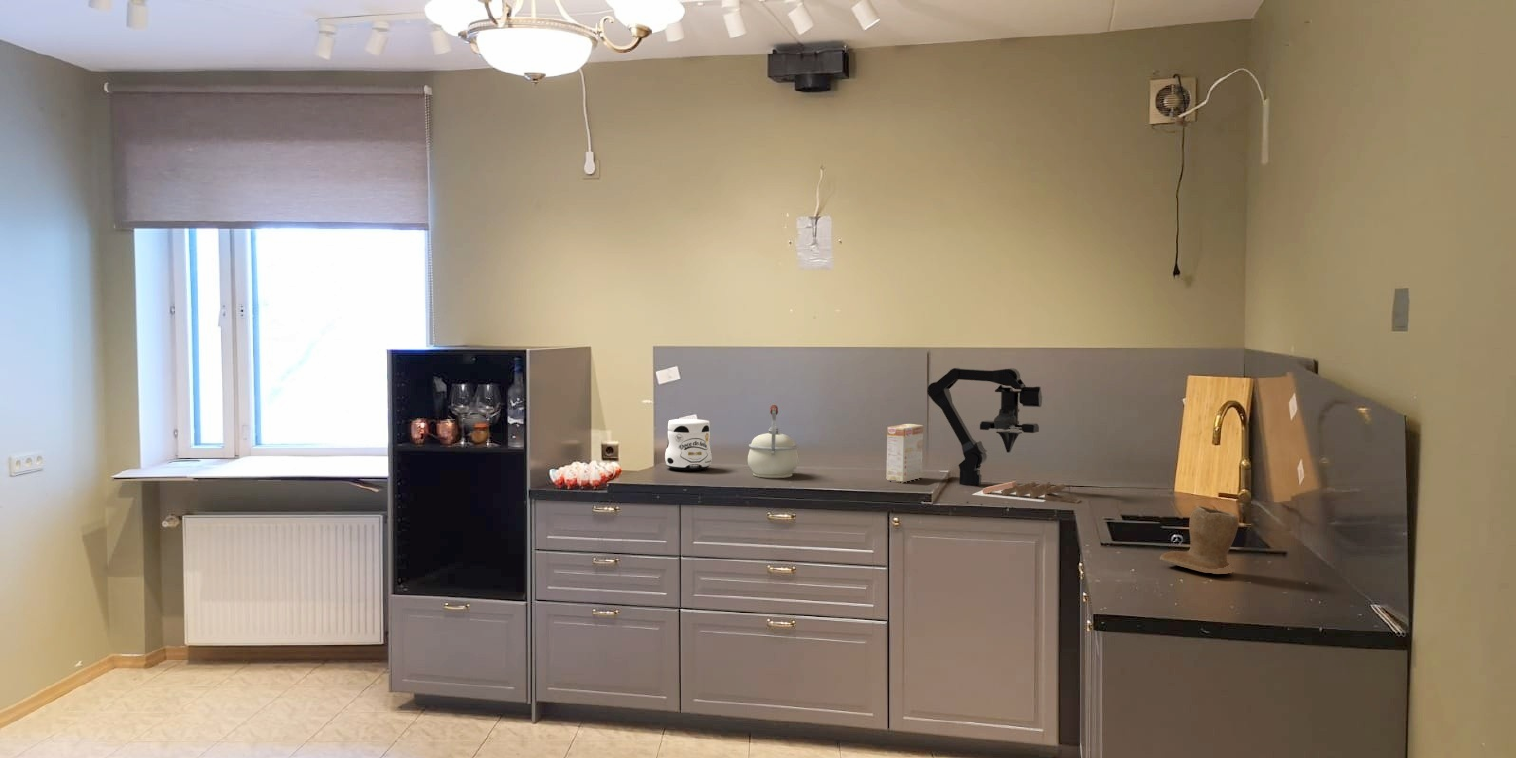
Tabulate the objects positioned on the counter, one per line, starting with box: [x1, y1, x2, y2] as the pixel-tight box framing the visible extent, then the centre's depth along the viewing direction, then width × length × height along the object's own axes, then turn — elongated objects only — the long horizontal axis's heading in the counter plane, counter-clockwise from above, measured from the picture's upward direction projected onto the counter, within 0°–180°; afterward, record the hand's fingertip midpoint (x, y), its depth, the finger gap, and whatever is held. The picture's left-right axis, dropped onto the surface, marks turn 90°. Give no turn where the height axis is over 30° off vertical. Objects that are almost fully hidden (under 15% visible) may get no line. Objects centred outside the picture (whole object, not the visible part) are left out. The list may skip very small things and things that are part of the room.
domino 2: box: [1001, 480, 1037, 496], centre depth 341 cm, size 2×5×10 cm
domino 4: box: [1030, 482, 1066, 499], centre depth 337 cm, size 2×5×10 cm
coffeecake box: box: [886, 423, 924, 481], centre depth 379 cm, size 15×7×20 cm, turn 144°
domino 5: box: [1044, 493, 1081, 504], centre depth 335 cm, size 2×5×10 cm
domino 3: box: [1016, 481, 1052, 497], centre depth 339 cm, size 2×5×10 cm
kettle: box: [747, 404, 799, 479], centre depth 385 cm, size 25×18×25 cm
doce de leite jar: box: [664, 418, 713, 471], centre depth 395 cm, size 17×17×18 cm
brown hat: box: [1159, 505, 1239, 569], centre depth 247 cm, size 15×12×15 cm
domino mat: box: [971, 489, 1059, 503], centre depth 345 cm, size 23×18×1 cm
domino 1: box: [981, 480, 1018, 494], centre depth 344 cm, size 2×5×10 cm
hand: (1008, 452), depth 358 cm, fingers closed
